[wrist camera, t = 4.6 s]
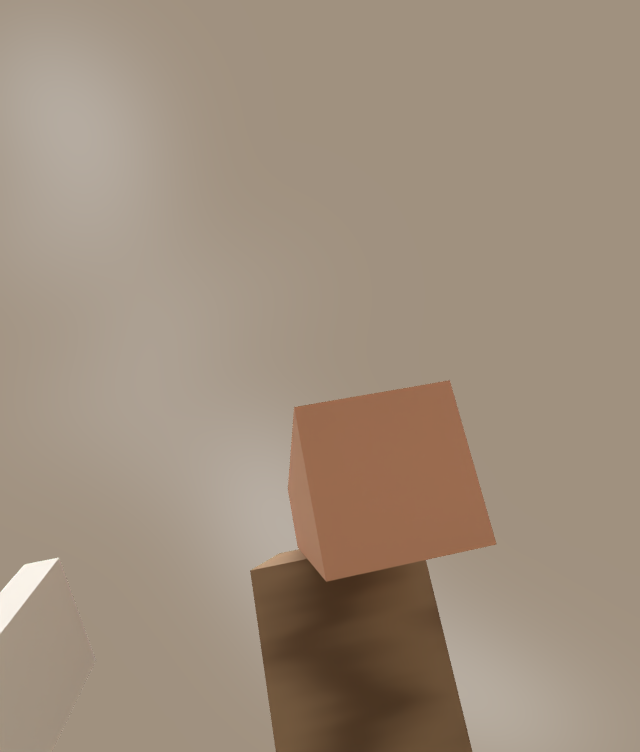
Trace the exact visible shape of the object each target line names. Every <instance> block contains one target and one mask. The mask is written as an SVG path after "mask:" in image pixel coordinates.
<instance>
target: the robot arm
mask: <svg viewBox="0 0 640 752" xmlns="http://www.w3.org/2000/svg"><path fill="white" fill-rule="evenodd" d="M95 661H96V659H95V656H94V654H93V651H92V648H91V645H90V642H89V639H88V637H87V634H86V631H85V628H84V625H83V623H82V620H81V617H80V615H79V612H78V609H77V606H76V603H75V600H74V598H73V595H72V592H71V589H70V586H69V583H68V581H67V578H66V575H65V572H64V569H63V567H62V564H61V561H60V558H54V559H50V560H45V561H40V562H35V563H30V564H25V565H24V566H23V567H22V568H21V569H20V570H19V571H18V573H17V574H16V575H15V576H14V577H13V578H12V580H11V581H10V582H9V583H8V584H7V585H6V587H4V589H3V590H2V591H1V592H0V752H52V751H53V748H54V747H55V744H56V742H57V740H58V738H59V736H60V734H61V732H62V730H63V728H64V726H65V724H66V722H67V720H68V717H69V715H70V713H71V711H72V709H73V707H74V705H75V703H76V701H77V699H78V697H79V695H80V693H81V690H82V688H83V686H84V684H85V682H86V680H87V678H88V676H89V674H90V672H91V670H92V668H93V666H94V663H95Z"/></svg>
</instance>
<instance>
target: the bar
mask: <svg viewBox="0 0 640 752" xmlns="http://www.w3.org/2000/svg"><path fill="white" fill-rule="evenodd" d="M291 443H292V444H291V456H290V469H289V482H288V493H289V498H290V504H291V509H292V516H293V522H294V527H295V533H296V539H297V545H298V548H299V549H300V551H301V552H302V553H303V554H304V555H305V557H306V558H307V559H308V560H309V562H310V563H311V564H312V565H313V566H314V568H315V569H316V570H317V571H318V572H319V574H320V575H321V576H322V577H323V578H324V580H325V581H326V582H327V581H332V580H336V579H341V578H345V577H350V576H355V575H359V574H364V573H368V572H373V571H377V570H382V569H386V568H391V567H396V566H400V565H405V564H409V563H414V562H418V561H423V560H428V559H432V558H437V557H441V556H446V555H450V554H455V553H459V552H464V551H468V550H473V549H478V548H482V547H487V546H491V545H495V544H496V541H495V537H494V534H493V530H492V527H491V523H490V520H489V516H488V513H487V509H486V506H485V502H484V499H483V495H482V492H481V488H480V485H479V481H478V478H477V474H476V471H475V467H474V464H473V460H472V457H471V453H470V450H469V446H468V443H467V439H466V436H465V432H464V429H463V425H462V422H461V418H460V415H459V411H458V408H457V404H456V400H455V397H454V394H453V390H452V387H451V383H450V381H443V382H438V383H432V384H426V385H420V386H414V387H409V388H403V389H397V390H391V391H386V392H380V393H374V394H368V395H362V396H356V397H350V398H345V399H339V400H333V401H328V402H321V403H316V404H310V405H304V406H298V407H294V417H293V430H292V442H291Z"/></svg>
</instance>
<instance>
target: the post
mask: <svg viewBox="0 0 640 752" xmlns="http://www.w3.org/2000/svg"><path fill="white" fill-rule="evenodd" d="M250 572H251V579H252V586H253V592H254V600H255V607H256V614H257V621H258V627H259V635H260V642H261V649H262V656H263V664H264V670H265V677H266V684H267V692H268V699H269V706H270V712H271V720H272V727H273V734H274V740H275V748H276V752H472V748H471V744H470V740H469V736H468V732H467V728H466V724H465V720H464V716H463V711H462V707H461V703H460V699H459V695H458V691H457V687H456V682H455V678H454V674H453V670H452V666H451V662H450V658H449V654H448V650H447V646H446V642H445V637H444V633H443V629H442V625H441V621H440V617H439V612H438V608H437V604H436V600H435V596H434V592H433V588H432V584H431V580H430V576H429V571H428V567H427V563H426V560H423V561H418V562H414V563H409V564H405V565H400V566H396V567H391V568H386V569H382V570H377V571H373V572H368V573H364V574H359V575H355V576H350V577H345V578H341V579H336V580H332V581H327V582H326V581H325V580H324V578H323V577H322V576H321V575H320V574H319V572H318V571H317V570H316V569H315V568H314V566H313V565H312V564H311V563H310V562H309V560H308V559H307V558H306V557H305V555H304V554H303V553H302V552H301V551H300V549H299V550H294V551H289V552H284V553H280V554H278V555H276V556H274V557H273V558H271V559H269V560H267V561H266V562H264V563H262V564H261V565H259V566H257V567H255V568H254V569H252V570H251V571H250Z"/></svg>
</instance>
